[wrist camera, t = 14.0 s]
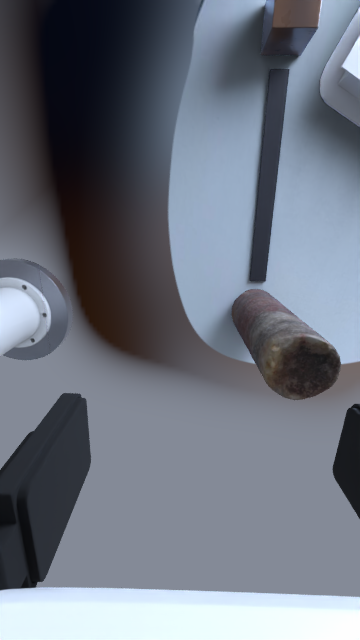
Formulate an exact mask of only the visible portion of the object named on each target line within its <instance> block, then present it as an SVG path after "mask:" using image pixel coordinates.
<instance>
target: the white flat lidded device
mask: <svg viewBox="0 0 360 640" xmlns="http://www.w3.org/2000/svg"><path fill="white" fill-rule="evenodd" d="M319 82H320V95H321V97H322V98H323V100H324V101H325V103H326V104H327V105H329V106H330V107H331V108H333V109H334V110H336V111H337V112H339V113H340V114H341V115H343V116H344V117H346V118H347V119H349V120H350V121H351V122H353V123H354V124H356V125H357V126H359V127H360V7H359V9H358V11H357V12H356V14H355V16H354V18H353V19H352V21H351V23H350V24H349V26H348V28H347V30H346V31H345V33H344V35H343V36H342V38H341V40H340V42H339V43H338V45H337V47H336V48H335V50H334V52H333V54H332V55H331V57H330V59H329V60H328V62H327V64H326V66H325V68H324V70H323V73H322V76H321V79H320V81H319Z"/></svg>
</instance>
